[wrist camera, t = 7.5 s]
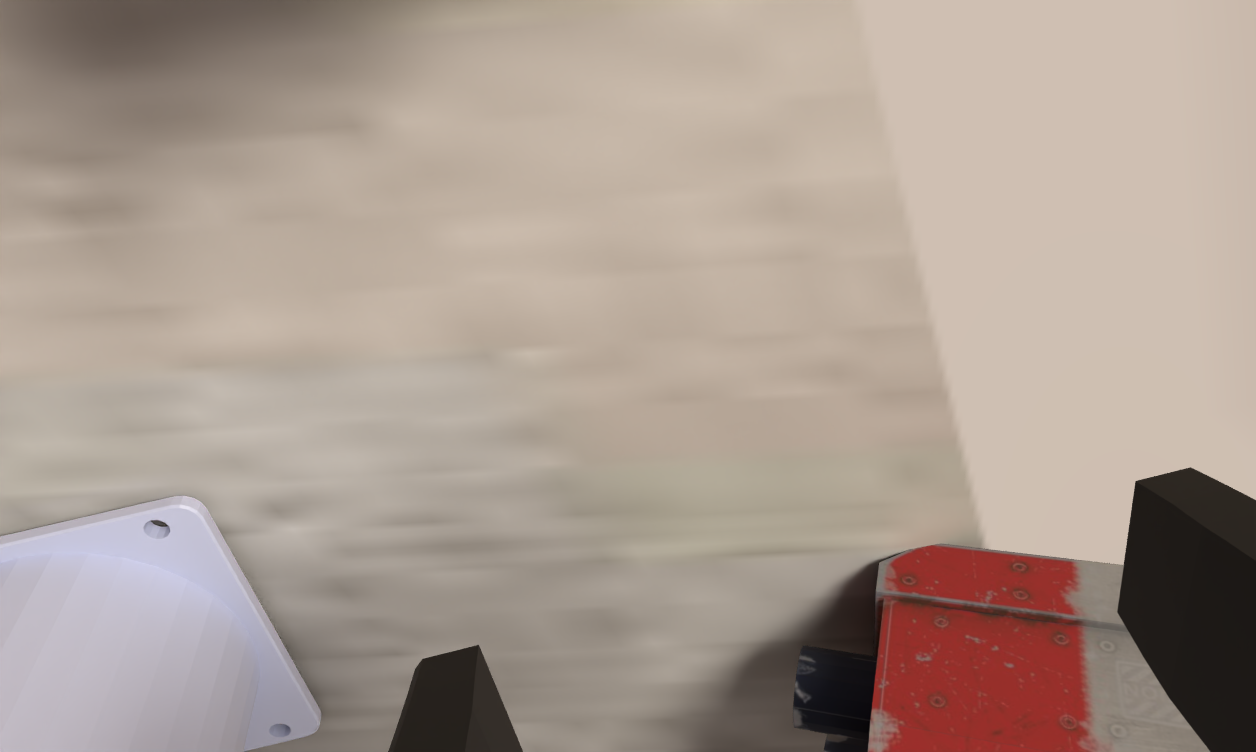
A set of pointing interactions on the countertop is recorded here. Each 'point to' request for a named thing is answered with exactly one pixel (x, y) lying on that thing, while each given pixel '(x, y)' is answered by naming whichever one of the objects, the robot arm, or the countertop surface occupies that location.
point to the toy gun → (991, 663)
